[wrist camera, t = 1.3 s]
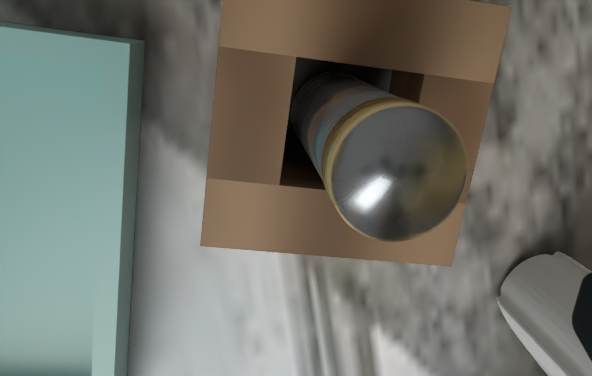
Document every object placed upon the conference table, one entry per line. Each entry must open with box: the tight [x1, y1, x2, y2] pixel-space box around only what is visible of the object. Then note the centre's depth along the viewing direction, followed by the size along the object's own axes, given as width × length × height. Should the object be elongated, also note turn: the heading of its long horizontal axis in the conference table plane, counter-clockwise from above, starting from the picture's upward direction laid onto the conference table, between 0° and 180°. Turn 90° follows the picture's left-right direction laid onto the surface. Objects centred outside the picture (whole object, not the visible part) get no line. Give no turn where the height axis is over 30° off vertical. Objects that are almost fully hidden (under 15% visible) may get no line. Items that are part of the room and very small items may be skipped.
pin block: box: [200, 0, 512, 266], centre depth 19 cm, size 9×9×4 cm
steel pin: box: [291, 72, 469, 242], centre depth 17 cm, size 3×3×9 cm
